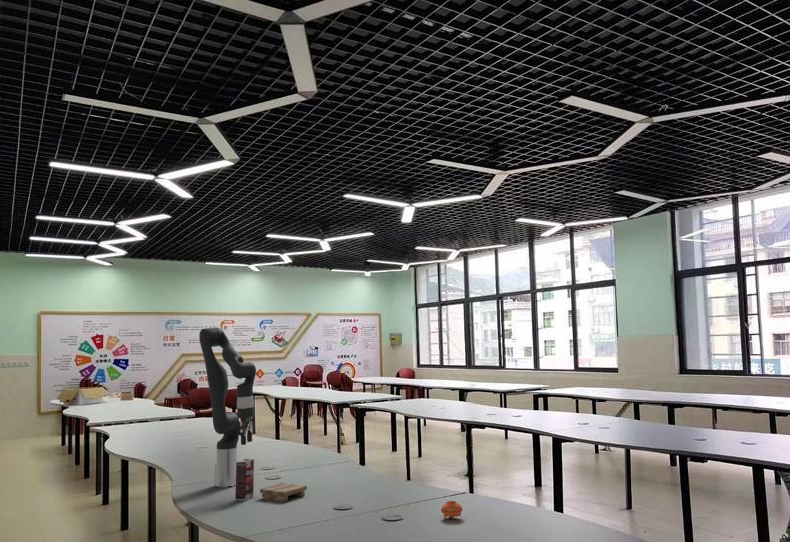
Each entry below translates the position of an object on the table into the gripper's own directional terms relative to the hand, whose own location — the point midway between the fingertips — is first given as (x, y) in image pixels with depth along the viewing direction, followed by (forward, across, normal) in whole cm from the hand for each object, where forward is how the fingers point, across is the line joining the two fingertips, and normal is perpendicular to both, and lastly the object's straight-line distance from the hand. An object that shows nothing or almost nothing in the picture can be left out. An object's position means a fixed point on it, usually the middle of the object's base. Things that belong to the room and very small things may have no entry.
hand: (246, 443), depth 281 cm
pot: (+26, +42, +90) cm, 103 cm away
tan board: (+22, +10, +19) cm, 30 cm away
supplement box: (+22, +13, +2) cm, 25 cm away
